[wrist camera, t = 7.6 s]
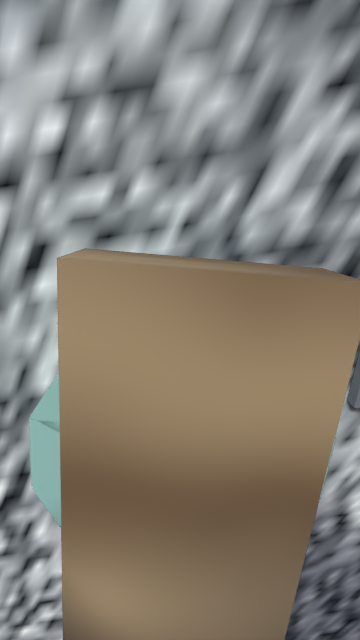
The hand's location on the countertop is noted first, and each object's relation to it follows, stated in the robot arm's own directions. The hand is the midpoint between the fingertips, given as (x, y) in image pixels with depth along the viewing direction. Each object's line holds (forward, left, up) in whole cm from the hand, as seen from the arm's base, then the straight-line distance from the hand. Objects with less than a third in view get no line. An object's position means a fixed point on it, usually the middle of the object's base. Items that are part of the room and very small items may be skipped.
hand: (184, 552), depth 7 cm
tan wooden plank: (0, 0, -3) cm, 3 cm away
